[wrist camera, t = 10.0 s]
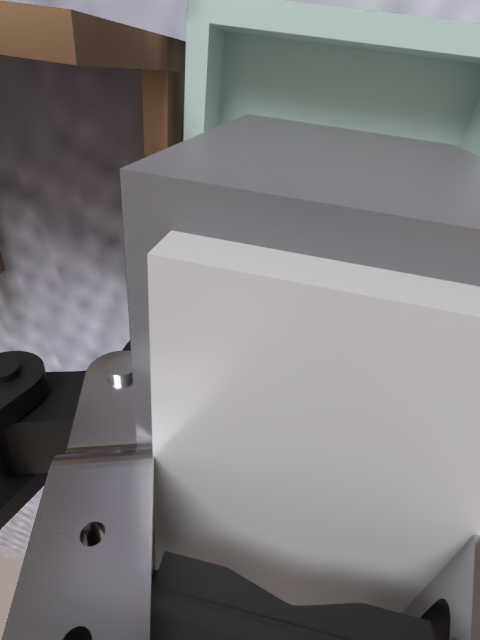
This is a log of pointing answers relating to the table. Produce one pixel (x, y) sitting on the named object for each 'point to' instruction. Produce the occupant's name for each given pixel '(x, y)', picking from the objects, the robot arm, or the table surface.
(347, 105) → the tray
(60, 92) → the table surface
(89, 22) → the dock
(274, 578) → the grey rectangular block
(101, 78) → the table surface
